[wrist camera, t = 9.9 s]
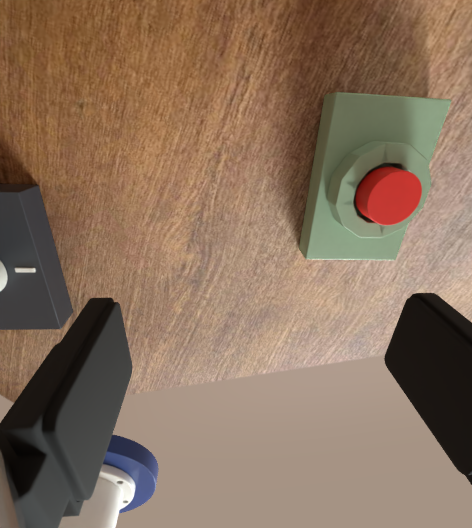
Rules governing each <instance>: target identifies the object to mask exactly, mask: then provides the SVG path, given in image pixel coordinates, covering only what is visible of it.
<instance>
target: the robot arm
mask: <svg viewBox="0 0 472 528" xmlns="http://www.w3.org/2000/svg"><path fill="white" fill-rule="evenodd" d="M385 364H386V366H387V368H388V370H389V371H390V372H391V374H392V375H393V377H394V378H395V380H396V381H397V383H398V384H399V385H400V387H401V388H402V390H403V391H404V393H405V394H406V396H407V397H408V399H409V400H410V402H411V403H412V404H413V406H414V407H415V409H416V410H417V412H418V413H419V415H420V416H421V418H422V419H423V420H424V422H425V423H426V425H427V426H428V428H429V429H430V431H431V432H432V433H433V435H434V436H435V438H436V439H437V441H438V442H439V444H440V445H441V447H442V448H443V450H444V451H445V453H446V454H447V455H448V457H449V458H450V460H451V461H452V463H453V464H454V466H455V467H456V468H457V469H458V471H460V472H461V473H462V474H464V475H465V476H466V477H467V479H468V480H469V482H470V483H471V484H472V323H471V322H470V321H469V320H468V319H466V318H465V317H464V316H463V315H461V314H460V313H459V312H458V311H456V310H455V309H454V308H453V307H451V306H450V305H449V304H448V303H446V302H445V301H444V300H443V299H441V298H440V297H439V296H438V295H436V294H434V293H415V294H413V295H412V296H411V297H410V298H408V299H407V300H406V302H405V305H404V308H403V310H402V313H401V315H400V318H399V320H398V323H397V326H396V328H395V331H394V333H393V336H392V339H391V341H390V344H389V346H388V349H387V352H386V354H385ZM131 374H132V361H131V357H130V352H129V347H128V342H127V337H126V332H125V328H124V323H123V318H122V313H121V308H120V304H119V303H118V302H114V301H113V299H112V298H91V299H90V300H89V301H88V303H87V304H86V305H85V307H84V308H83V310H82V311H81V313H80V314H79V316H78V317H77V319H76V320H75V322H74V323H73V324H72V326H71V327H70V329H69V330H68V332H67V333H66V335H65V336H64V338H63V339H62V341H61V342H60V343H58V344H56V345H55V346H54V348H53V349H52V350H51V351H50V353H49V354H48V356H47V357H46V359H45V360H44V361H43V363H42V364H41V366H40V367H39V369H38V370H37V371H36V373H35V374H34V376H33V377H32V379H31V380H30V381H29V383H28V384H27V386H26V387H25V389H24V390H23V391H22V393H21V394H20V396H19V397H18V399H17V400H16V401H15V403H14V404H13V406H12V407H11V409H10V410H9V411H8V413H7V414H6V416H5V417H4V419H3V420H2V421H1V423H0V528H115V526H116V522H117V518H118V514H119V510H120V509H122V508H124V507H125V506H127V505H128V504H129V503H130V502H131V501H132V499H133V497H134V493H135V487H136V486H135V482H134V481H133V479H132V477H130V476H129V475H128V474H127V473H126V472H124V471H123V470H121V469H118V468H116V467H113V466H110V465H106V464H103V461H104V458H105V455H106V452H107V449H108V446H109V443H110V440H111V437H112V433H113V430H114V427H115V424H116V421H117V418H118V415H119V412H120V409H121V406H122V402H123V399H124V396H125V393H126V390H127V387H128V384H129V381H130V378H131Z"/></svg>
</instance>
